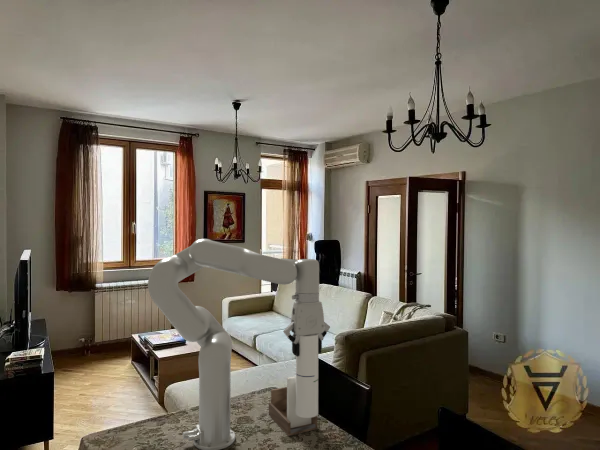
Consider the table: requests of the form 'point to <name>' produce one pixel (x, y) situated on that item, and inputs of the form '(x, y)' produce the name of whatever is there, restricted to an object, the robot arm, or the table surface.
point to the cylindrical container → (307, 377)
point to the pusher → (294, 405)
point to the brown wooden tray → (280, 413)
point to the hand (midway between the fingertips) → (307, 353)
